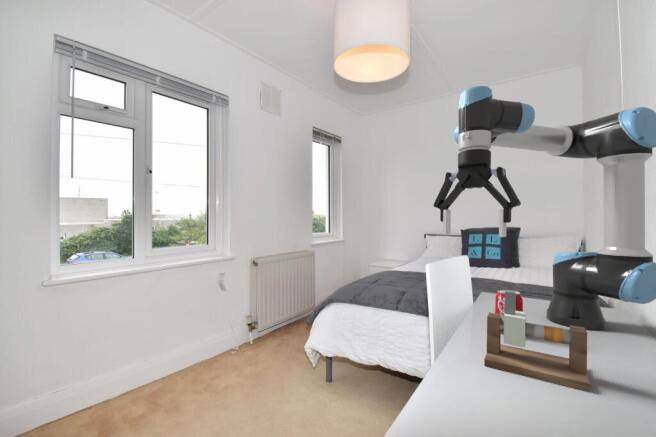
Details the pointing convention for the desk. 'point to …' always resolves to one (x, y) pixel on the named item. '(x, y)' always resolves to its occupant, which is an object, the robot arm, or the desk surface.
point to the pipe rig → (540, 354)
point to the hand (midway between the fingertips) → (472, 235)
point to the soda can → (501, 303)
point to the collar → (513, 321)
